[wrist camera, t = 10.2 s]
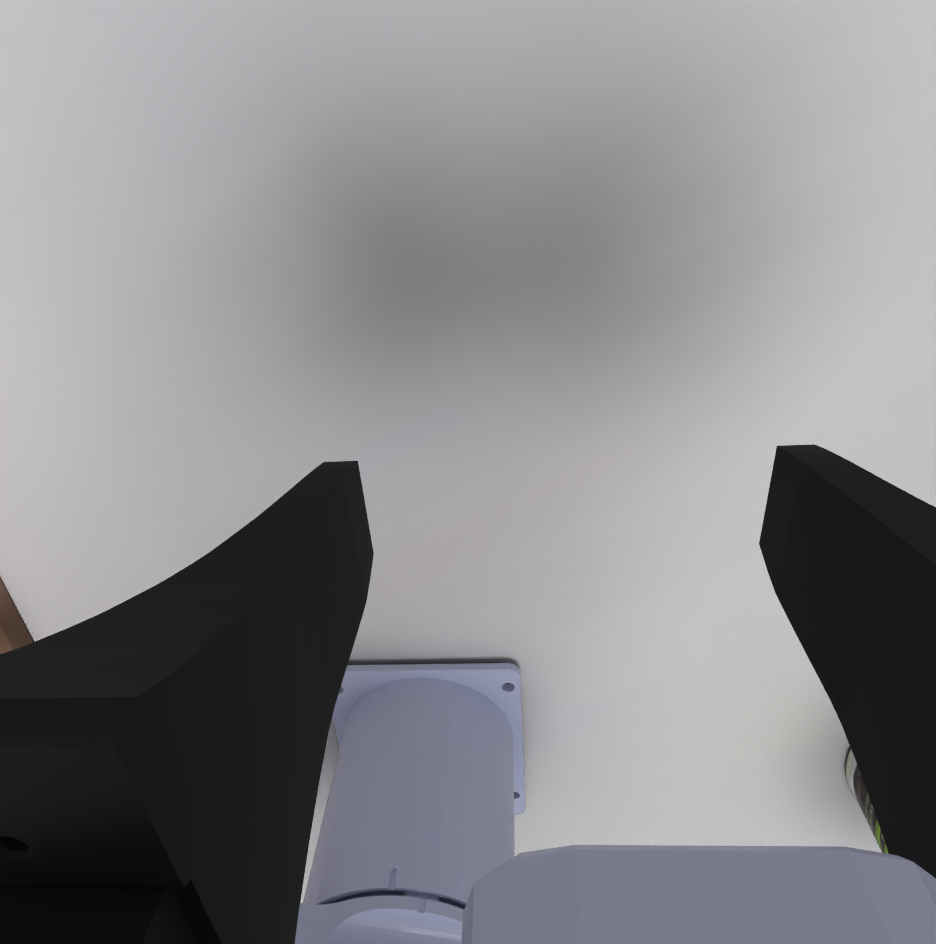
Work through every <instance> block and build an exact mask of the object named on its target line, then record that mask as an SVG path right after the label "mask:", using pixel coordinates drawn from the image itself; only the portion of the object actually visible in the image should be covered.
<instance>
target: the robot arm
mask: <svg viewBox="0 0 936 944" xmlns="http://www.w3.org/2000/svg"><path fill="white" fill-rule="evenodd" d="M759 545H760V548H761V551H762V554H763V557H764V561H765V564H766V567H767V570H768V573H769V576H770V579H771V581H772V584H773V587H774V590H775V593H776V595H777V597H778V599H779V601H780V603H781V605H782V607H783V609H784V611H785V613H786V615H787V617H788V619H789V621H790V623H791V625H792V627H793V629H794V631H795V633H796V635H797V637H798V638H799V640H800V642H801V644H802V646H803V648H804V650H805V652H806V654H807V656H808V658H809V660H810V662H811V664H812V665H813V667H814V669H815V671H816V673H817V675H818V677H819V679H820V681H821V683H822V685H823V687H824V689H825V691H826V692H827V694H828V696H829V698H830V700H831V702H832V704H833V707H834V709H835V711H836V713H837V715H838V717H839V720H840V722H841V724H842V726H843V729H844V731H845V734H846V736H847V739H848V742H849V744H850V747H851V749H852V752H853V755H854V757H855V760H856V763H857V765H858V768H859V770H860V773H861V776H862V778H863V781H864V784H865V786H866V789H867V792H868V795H869V798H870V801H871V804H872V806H873V809H874V812H875V815H876V818H877V821H878V823H879V826H880V829H881V832H882V835H883V838H884V841H885V843H886V846H887V850H888V853H889V854H885V853H879V852H873V851H867V850H861V849H855V848H849V847H808V846H646V845H571V846H565V847H558V848H551V849H544V850H538V851H531V852H524V853H520V854H518V855H517V856H515V857H514V815H517V814H521V813H523V812H524V811H525V809H526V801H525V777H524V752H523V728H522V704H521V679H520V670H519V668H518V667H517V666H516V665H514V664H511V663H476V664H401V665H347V664H348V661H349V658H350V655H351V651H352V648H353V645H354V642H355V638H356V635H357V632H358V628H359V625H360V621H361V618H362V615H363V611H364V608H365V604H366V600H367V594H368V588H369V582H370V576H371V568H372V561H373V554H374V553H373V547H372V542H371V536H370V530H369V524H368V518H367V513H366V507H365V501H364V495H363V489H362V483H361V478H360V472H359V466H358V461H343V462H324V463H322V464H321V465H319V466H318V467H317V468H315V469H314V470H313V471H312V472H310V473H309V474H308V475H307V476H306V477H304V478H303V479H302V480H301V481H300V482H298V483H297V484H296V485H295V486H294V487H293V488H291V489H290V490H289V491H288V492H287V493H286V494H284V495H283V496H282V497H281V498H280V499H278V500H277V501H276V502H275V503H273V504H272V505H271V506H270V507H269V508H267V509H266V510H265V511H264V512H263V513H261V514H260V515H259V516H258V517H257V518H255V519H254V520H253V521H251V522H250V523H249V524H247V525H246V526H245V527H243V528H242V529H241V530H239V531H238V532H237V533H235V534H234V535H233V536H231V537H230V538H229V539H227V540H226V541H225V542H223V543H222V544H221V545H219V546H218V547H217V548H215V549H214V550H212V551H211V552H209V553H208V554H206V555H205V556H203V557H202V558H200V559H199V560H197V561H196V562H194V563H193V564H191V565H189V566H188V567H186V568H184V569H183V570H181V571H179V572H178V573H176V574H175V575H173V576H171V577H170V578H168V579H166V580H165V581H163V582H161V583H159V584H158V585H156V586H154V587H152V588H150V589H148V590H146V591H144V592H142V593H140V594H138V595H136V596H134V597H132V598H131V599H129V600H127V601H125V602H123V603H121V604H119V605H117V606H115V607H113V608H111V609H109V610H107V611H105V612H103V613H101V614H99V615H97V616H95V617H92V618H90V619H88V620H86V621H83V622H81V623H79V624H77V625H74V626H72V627H70V628H67V629H65V630H63V631H60V632H58V633H55V634H53V635H50V636H48V637H46V638H43V639H41V640H38V641H36V642H33V643H30V644H28V645H25V646H23V647H20V648H17V649H15V650H12V651H9V652H6V653H3V654H0V944H936V507H934V506H932V505H930V504H928V503H926V502H924V501H922V500H920V499H918V498H916V497H914V496H913V495H911V494H909V493H907V492H905V491H903V490H901V489H899V488H898V487H896V486H894V485H892V484H890V483H888V482H887V481H885V480H883V479H881V478H879V477H877V476H876V475H874V474H872V473H870V472H868V471H866V470H865V469H863V468H861V467H859V466H857V465H855V464H854V463H852V462H850V461H848V460H846V459H844V458H842V457H840V456H838V455H836V454H834V453H832V452H830V451H828V450H826V449H824V448H821V447H819V446H817V445H791V446H777V449H776V455H775V460H774V466H773V471H772V477H771V482H770V488H769V493H768V499H767V504H766V510H765V515H764V521H763V526H762V532H761V537H760V543H759ZM505 683H512V684H505ZM332 717H333V721H334V725H335V729H336V733H337V738H338V742H339V746H340V750H339V754H338V758H337V763H336V767H335V771H334V775H333V779H332V783H331V788H330V792H329V796H328V800H327V804H326V809H325V813H324V817H323V821H322V825H321V829H320V834H319V838H318V842H317V846H316V850H315V854H314V859H313V863H312V867H311V871H310V875H309V880H308V884H307V888H306V892H305V896H304V900H303V904H302V903H300V900H301V893H302V886H303V879H304V873H305V866H306V859H307V852H308V845H309V839H310V833H311V827H312V821H313V815H314V809H315V803H316V797H317V791H318V785H319V780H320V774H321V769H322V764H323V758H324V753H325V748H326V742H327V737H328V732H329V727H330V723H331V719H332Z"/></svg>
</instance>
